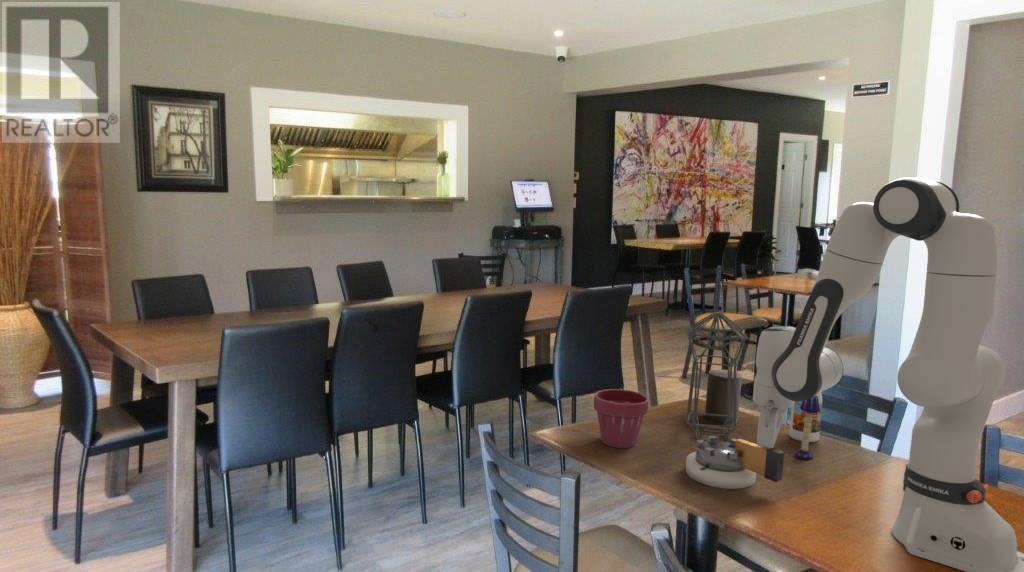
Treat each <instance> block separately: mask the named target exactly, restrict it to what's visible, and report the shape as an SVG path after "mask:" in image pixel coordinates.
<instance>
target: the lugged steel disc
mask: <svg viewBox="0 0 1024 572" xmlns="http://www.w3.org/2000/svg"><path fill="white" fill-rule="evenodd" d="M698 439H699V438H697V440H696V443H695V445H696V446H695V452H696V455H695V460H696V462H697V463H699V464H700V465H702V466H704V467H706V468H709V469H712V470H717V471H724V472H737V471H742V470H745V469H747V470H750V471H752V472H755V473H756V474H758V475H760V476H763V478H764V479H766V480H770V481H772V482H775V483H778V482H781V481H783V469H784V458H785V451H783V450H780V449H777V448H775V447H774V448H766V447H763V446H759V445H757V443H753V442H750V441H748V440H745V439H742V438H738V439H736V438H731V439H730V440H729V441H728V442H727V441H726V442H724V440H723V441H721V440H719V438H718V437H717V435H708V436H707V440H708V441H703V440H704V439H701V440H698Z"/></svg>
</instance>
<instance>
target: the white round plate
mask: <svg viewBox="0 0 1024 572" xmlns="http://www.w3.org/2000/svg"><path fill="white" fill-rule="evenodd" d="M695 455H696V451H694V452H691V453H689V454H688V455H687V456H686V462H685V463H686V464H685V473H686V475H687V476H688V477H689V478H691V479H692V480H694V481H696V482H698V483H700V484H703V485H706V486H709V487H713V488H719V489H727V490H728V489H731V490H734V489H735V490H738V489H745V488H749V487H751V486H753V485H754V484H755V483H756V479H757V473H755V472H752V471H750V470H747V469H745V470H742V471H737V472H724V471H717V470H712V469H709V468H706V467H704V466H702V465H700V464H699V463H697V462H696V460H695Z"/></svg>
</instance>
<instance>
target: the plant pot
mask: <svg viewBox="0 0 1024 572" xmlns="http://www.w3.org/2000/svg"><path fill="white" fill-rule="evenodd" d="M593 409H594V410H595V412H596V413H597V421H598V428H599V432H600V438H601V439H600V440H601V443H603V444H604V445H606V446H609V447H612V448H618V449H627V448H632V447H634V446H635V445H636V444H637V440H638V437H639V434H640V431H641V427H642V423H643V420H644V417H645V416H646V415H647V413H649V412H648V411H649V398H648V396H646V395H645V394H643V393H640V392H638V391H633V390H630V389H620V388H610V389H602V390H597V391H596V392H595V393H594V396H593Z"/></svg>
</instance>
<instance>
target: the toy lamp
mask: <svg viewBox="0 0 1024 572" xmlns="http://www.w3.org/2000/svg"><path fill="white" fill-rule="evenodd" d="M800 409H801V410H803V411H805V414H806V416H805V422H804V429H803V432H804V433H803V436H802V437H803V439H802V441H801V445H800V449H798V450H796V452H795V453H794V458H795V457H796V458H797V459H799V460H802V459H803V460H804V461H810V460H811V459H812V460H813V458H814V457H813V454H812V453H811V452H810V451H809V444H810V442H809V438H810V432H811V429H810V428H811V422H812V415H813V413H818V412H819V411H820V408H819V401H818V396H817V395H815V396H813V397H812V398H810V399H809V400H806V401H802V403H801V406H800Z"/></svg>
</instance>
